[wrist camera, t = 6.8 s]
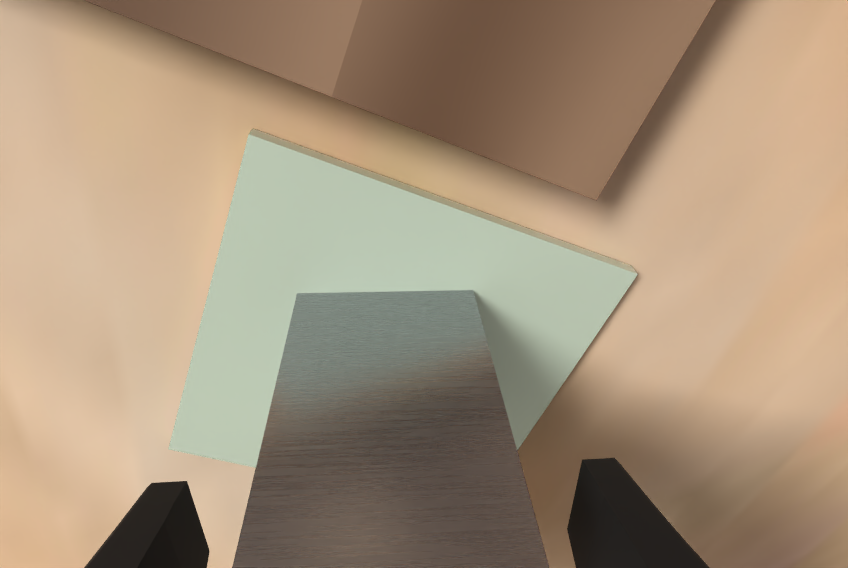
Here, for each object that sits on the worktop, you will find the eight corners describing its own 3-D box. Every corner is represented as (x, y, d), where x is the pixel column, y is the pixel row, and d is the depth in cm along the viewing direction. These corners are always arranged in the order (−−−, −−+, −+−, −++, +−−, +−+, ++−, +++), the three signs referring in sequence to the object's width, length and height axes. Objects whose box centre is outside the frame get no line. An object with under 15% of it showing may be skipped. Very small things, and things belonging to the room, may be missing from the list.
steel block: (473, 290, 13) (554, 589, 7) (463, 417, 15) (519, 732, 9) (296, 293, 13) (222, 608, 7) (311, 422, 15) (265, 751, 9)
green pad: (631, 265, 13) (638, 274, 13) (472, 502, 17) (474, 513, 17) (252, 128, 11) (248, 134, 11) (173, 437, 15) (168, 449, 15)
